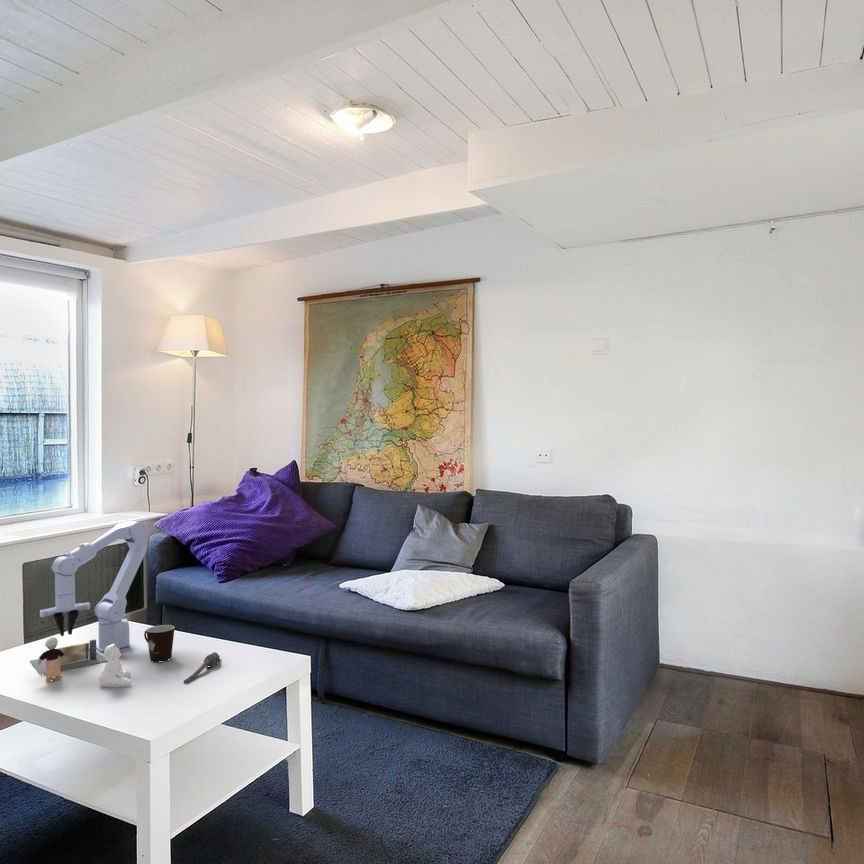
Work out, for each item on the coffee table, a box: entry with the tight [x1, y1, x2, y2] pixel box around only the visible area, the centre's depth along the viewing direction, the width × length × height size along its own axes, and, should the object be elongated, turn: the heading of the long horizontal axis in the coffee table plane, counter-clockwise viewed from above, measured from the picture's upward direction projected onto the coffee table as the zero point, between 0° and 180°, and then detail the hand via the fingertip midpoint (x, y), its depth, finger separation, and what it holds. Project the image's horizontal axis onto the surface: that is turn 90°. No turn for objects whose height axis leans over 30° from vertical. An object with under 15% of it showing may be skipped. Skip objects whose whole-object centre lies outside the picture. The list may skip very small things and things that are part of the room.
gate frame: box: [29, 639, 108, 676], centre depth 221 cm, size 19×17×7 cm
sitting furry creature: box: [98, 644, 132, 689], centre depth 201 cm, size 10×9×12 cm
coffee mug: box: [143, 624, 175, 663], centre depth 224 cm, size 12×9×10 cm
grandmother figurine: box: [37, 636, 67, 682], centre depth 205 cm, size 8×4×13 cm, turn 134°
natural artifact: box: [183, 651, 220, 685], centre depth 212 cm, size 4×23×4 cm, turn 165°
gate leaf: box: [57, 642, 90, 665], centre depth 218 cm, size 12×1×5 cm, turn 132°
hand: (66, 634), depth 224 cm, fingers closed
